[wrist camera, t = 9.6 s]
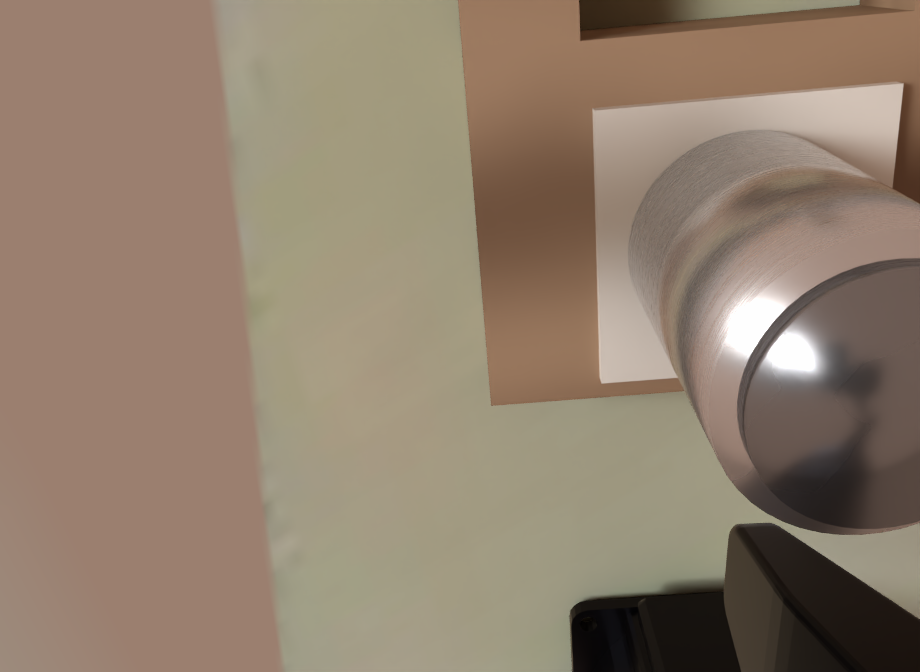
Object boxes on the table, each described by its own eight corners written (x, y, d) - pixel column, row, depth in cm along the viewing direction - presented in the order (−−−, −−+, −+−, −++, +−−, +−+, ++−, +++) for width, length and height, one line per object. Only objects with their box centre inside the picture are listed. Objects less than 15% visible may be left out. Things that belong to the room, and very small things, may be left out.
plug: (846, 342, 19) (1039, 541, 13) (627, 356, 19) (707, 560, 13) (874, 121, 17) (1117, 225, 11) (628, 138, 17) (725, 251, 11)
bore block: (923, 326, 22) (985, 374, 19) (488, 360, 22) (491, 411, 20) (1030, -491, 16) (1141, -580, 13) (424, -424, 16) (416, -498, 14)
